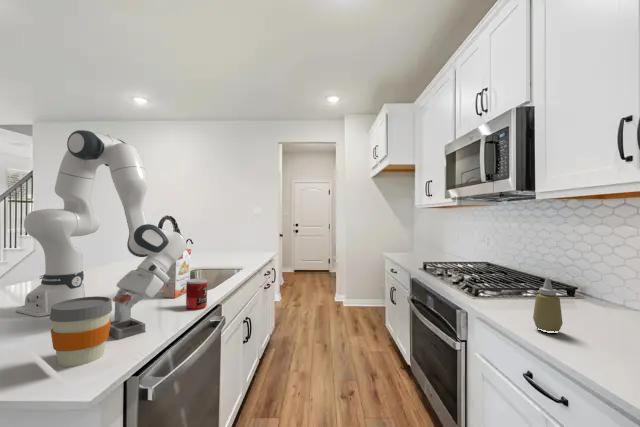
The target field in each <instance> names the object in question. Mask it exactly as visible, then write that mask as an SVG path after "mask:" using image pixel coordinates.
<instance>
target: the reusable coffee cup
mask: <svg viewBox="0 0 640 427" xmlns="http://www.w3.org/2000/svg"><path fill="white" fill-rule="evenodd" d="M112 304H113V301H112V298H111V297H109V296H95V295H94V296H85V297H83V298H75V299H70V300H66V301H62V302H59V303H56V304H54V305H53V306H52V307H51V313H50V315H49V320H50V321H51V329H50V336H51V342H52V348H53V350H55V355H56V359H57V365H58V366H60V367H64V368H72V367H79V366H83V365H87V364H90V363H93V362H95V361H98V360H99V359H101V358H103V357H104V353H105V349H106V342H107V340H108V339H109V330H110V324H111V322H112V319H110V317H111V312H112V311H113V305H112Z"/></svg>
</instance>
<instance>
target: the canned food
mask: <svg viewBox="0 0 640 427" xmlns="http://www.w3.org/2000/svg"><path fill="white" fill-rule="evenodd" d="M185 295H186V296H185V298H186V299H185V306H186V309H187V310H190V311H199V310H204V309H205V308H206V307H207V305H208V302H207V301H208V279H206V278H190V280H187V284H186V293H185Z"/></svg>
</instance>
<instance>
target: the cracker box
mask: <svg viewBox="0 0 640 427" xmlns="http://www.w3.org/2000/svg"><path fill="white" fill-rule="evenodd" d="M191 253H192V249H191V248H186V249H185V251H184V252H183V254H182V255H181V256H180V258H179V259H178V260H177V261H176V262H175V263H174V264H172V265H171V266H170V268H169V270H168V271H167V273H166V274H167V275H168V277H169V278H170V279H169V280H168V282H166V283H164V285H163V298H164V299H166V298H167V299H176V298H178V297H180V296H181V294H182V293H184V294H186V284H187V280H190V279H191V264H192V262H191V261H192V260H191V259H192V258H191V257H192V254H191ZM182 295H183V294H182Z"/></svg>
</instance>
